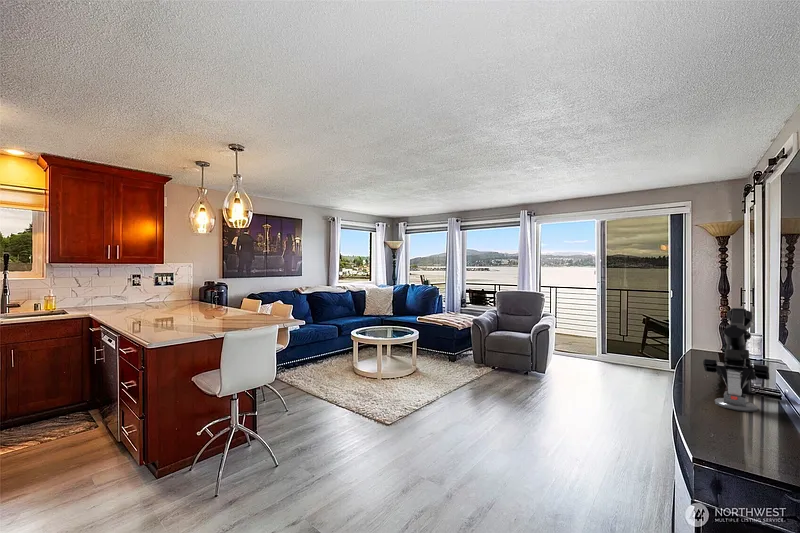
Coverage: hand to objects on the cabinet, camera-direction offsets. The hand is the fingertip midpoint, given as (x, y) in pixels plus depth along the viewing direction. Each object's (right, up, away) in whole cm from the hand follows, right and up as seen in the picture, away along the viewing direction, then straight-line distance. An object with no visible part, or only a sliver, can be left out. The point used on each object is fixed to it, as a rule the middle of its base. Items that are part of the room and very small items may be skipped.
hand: (734, 387), depth 137 cm
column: (+1, -6, +1) cm, 6 cm away
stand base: (+1, -8, +1) cm, 8 cm away
